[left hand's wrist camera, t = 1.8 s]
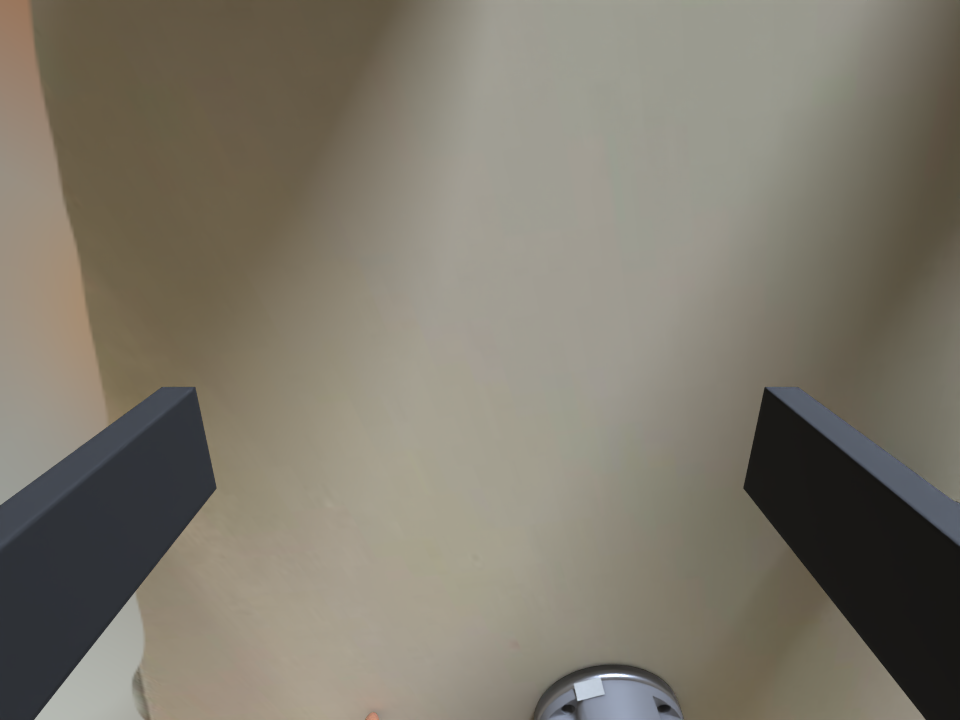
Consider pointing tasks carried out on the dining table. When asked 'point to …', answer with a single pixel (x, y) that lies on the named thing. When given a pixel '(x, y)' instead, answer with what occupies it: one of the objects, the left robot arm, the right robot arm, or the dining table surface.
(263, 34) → the dining table surface
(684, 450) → the dining table surface
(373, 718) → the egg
